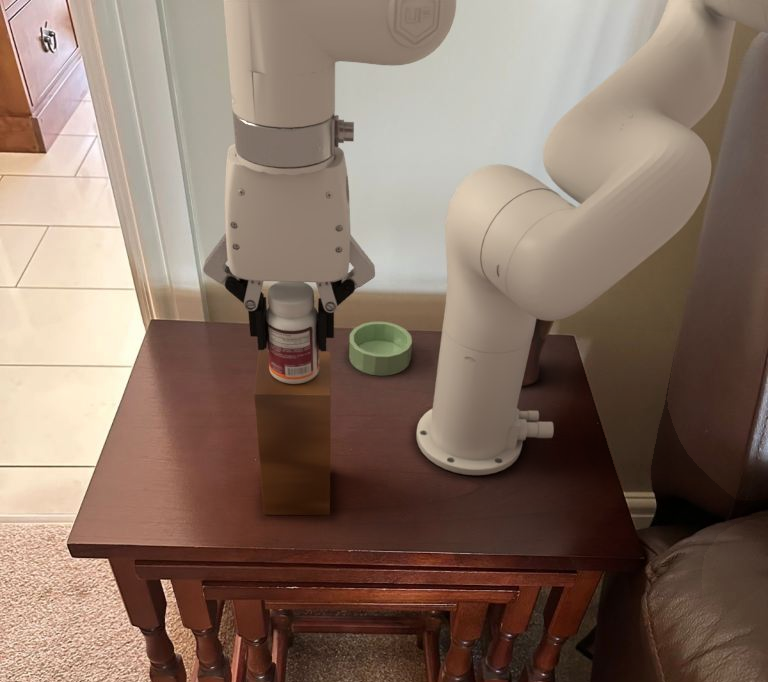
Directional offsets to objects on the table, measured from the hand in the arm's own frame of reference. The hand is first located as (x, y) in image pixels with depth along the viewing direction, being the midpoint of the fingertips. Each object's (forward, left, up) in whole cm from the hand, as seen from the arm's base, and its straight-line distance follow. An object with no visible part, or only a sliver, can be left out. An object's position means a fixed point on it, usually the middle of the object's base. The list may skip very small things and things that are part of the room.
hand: (292, 340), depth 71 cm
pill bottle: (0, 0, -4) cm, 4 cm away
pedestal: (0, 0, -19) cm, 19 cm away
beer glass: (-28, -23, -20) cm, 41 cm away
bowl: (-10, -26, -19) cm, 34 cm away
